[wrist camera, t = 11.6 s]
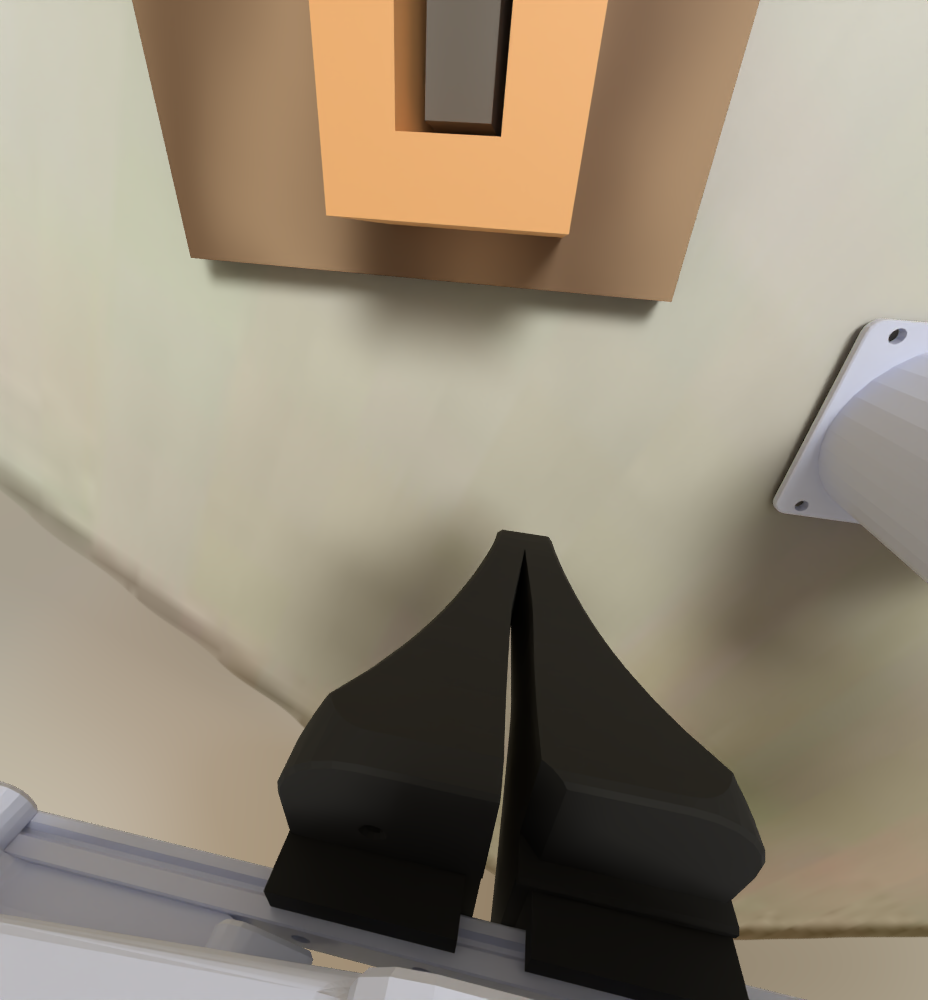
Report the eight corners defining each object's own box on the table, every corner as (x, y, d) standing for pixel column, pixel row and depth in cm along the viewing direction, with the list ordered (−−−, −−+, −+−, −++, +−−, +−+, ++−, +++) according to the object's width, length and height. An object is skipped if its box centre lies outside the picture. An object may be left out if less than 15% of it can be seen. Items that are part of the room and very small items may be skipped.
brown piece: (783, -137, 11) (963, -427, 6) (661, 297, 16) (708, 318, 11) (137, -131, 13) (-100, -349, 8) (216, 256, 18) (99, 260, 13)
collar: (637, -230, 10) (708, -602, 5) (562, 237, 14) (569, 234, 10) (380, -222, 10) (263, -551, 6) (388, 224, 15) (326, 215, 11)
